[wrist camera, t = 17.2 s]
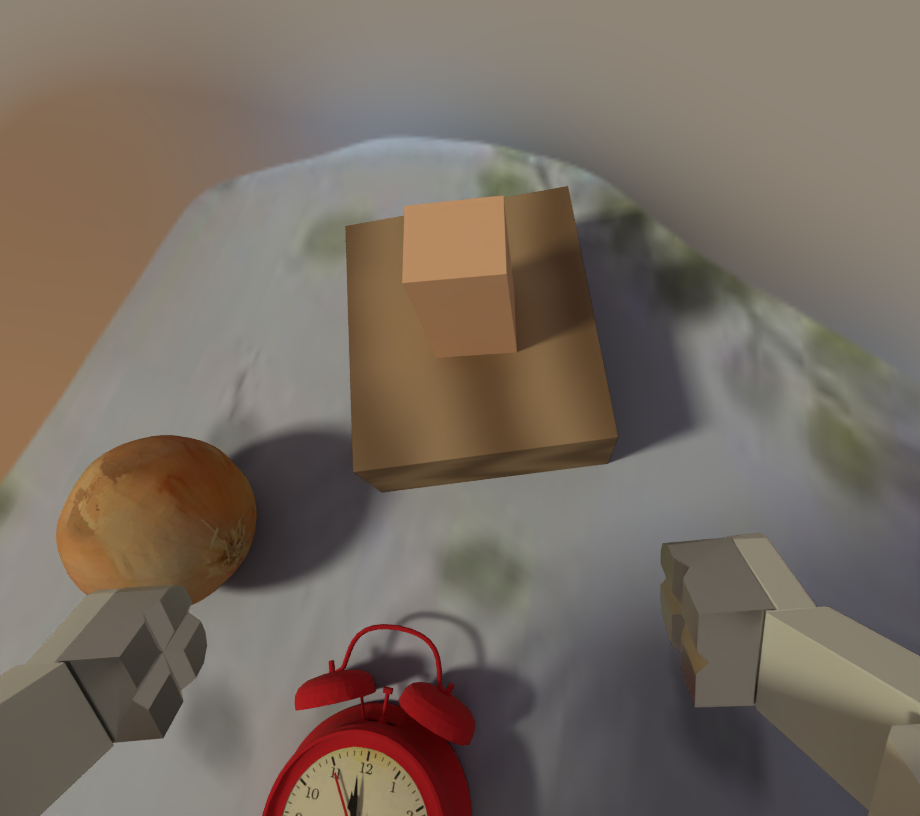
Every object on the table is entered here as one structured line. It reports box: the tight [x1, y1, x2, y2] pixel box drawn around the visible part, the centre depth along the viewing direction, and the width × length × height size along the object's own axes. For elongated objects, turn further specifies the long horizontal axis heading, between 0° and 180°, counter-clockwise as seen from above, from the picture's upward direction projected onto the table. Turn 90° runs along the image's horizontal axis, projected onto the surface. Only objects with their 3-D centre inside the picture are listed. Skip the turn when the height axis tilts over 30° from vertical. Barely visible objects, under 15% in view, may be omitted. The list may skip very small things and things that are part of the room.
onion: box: [56, 435, 257, 605], centre depth 32 cm, size 10×10×10 cm
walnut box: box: [346, 186, 618, 492], centre depth 35 cm, size 14×16×6 cm
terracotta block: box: [402, 196, 517, 358], centre depth 29 cm, size 4×4×8 cm
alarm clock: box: [262, 624, 475, 816], centre depth 29 cm, size 10×6×15 cm
